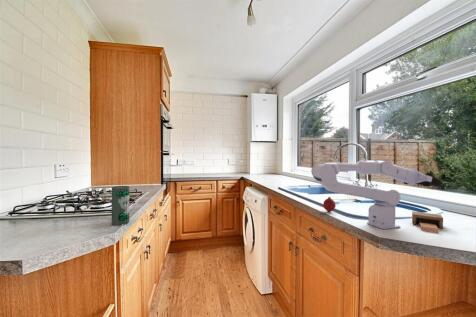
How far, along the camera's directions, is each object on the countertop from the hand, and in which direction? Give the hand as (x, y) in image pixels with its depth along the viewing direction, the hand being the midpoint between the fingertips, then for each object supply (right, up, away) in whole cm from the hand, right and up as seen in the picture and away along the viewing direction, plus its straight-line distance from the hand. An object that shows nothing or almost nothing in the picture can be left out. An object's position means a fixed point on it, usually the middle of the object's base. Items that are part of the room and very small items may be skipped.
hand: (431, 183), depth 92 cm
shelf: (-1, -18, +1) cm, 18 cm away
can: (-131, -16, -2) cm, 132 cm away
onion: (-35, -17, +20) cm, 44 cm away
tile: (-6, -18, -5) cm, 20 cm away
